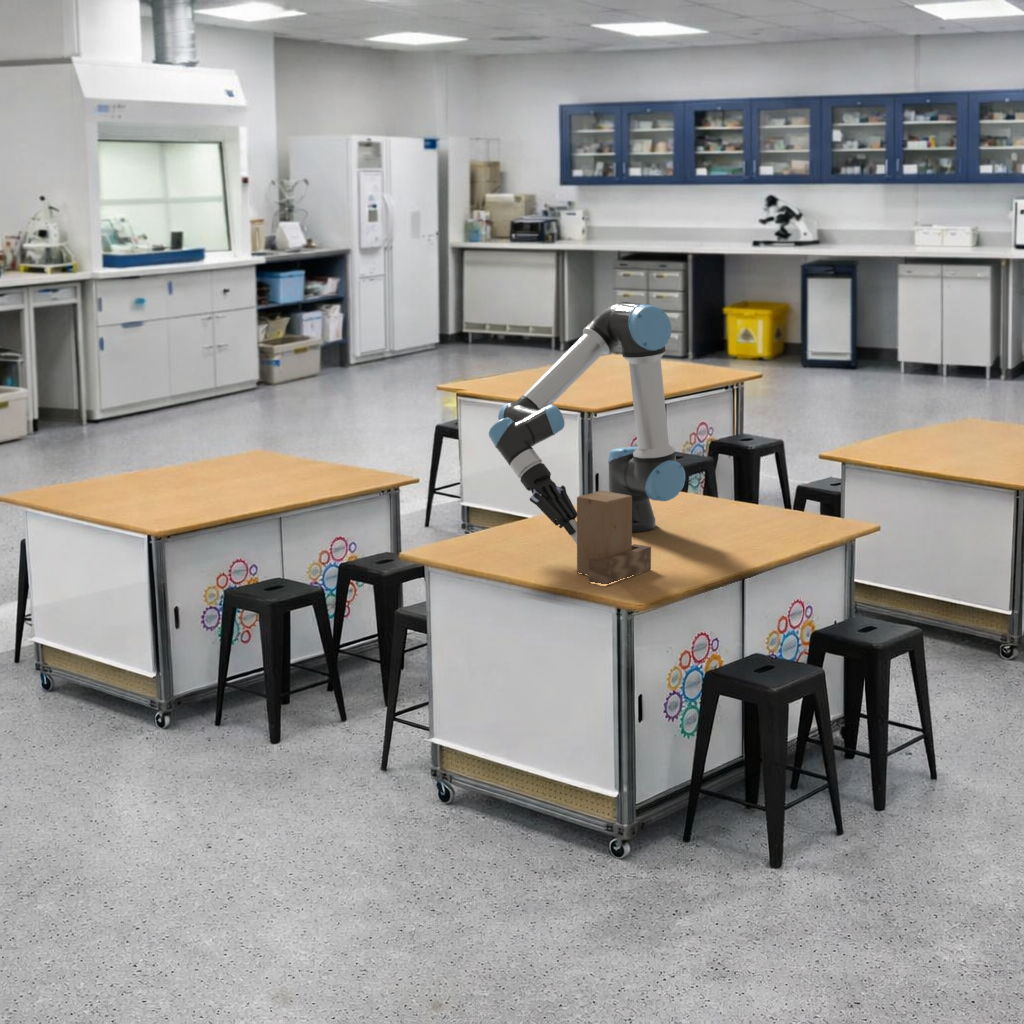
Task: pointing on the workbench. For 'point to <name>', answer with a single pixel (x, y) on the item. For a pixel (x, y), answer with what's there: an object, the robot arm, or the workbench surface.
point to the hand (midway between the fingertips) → (583, 542)
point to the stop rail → (620, 565)
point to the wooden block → (602, 527)
